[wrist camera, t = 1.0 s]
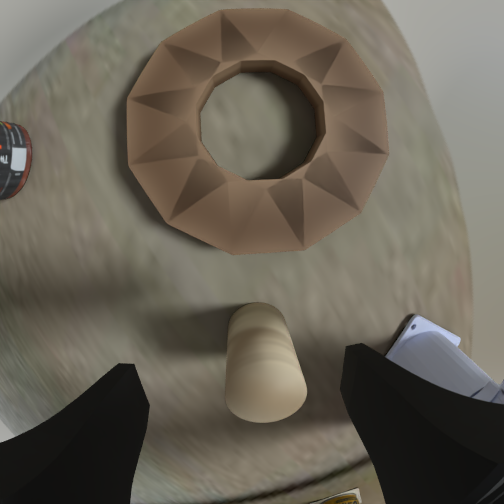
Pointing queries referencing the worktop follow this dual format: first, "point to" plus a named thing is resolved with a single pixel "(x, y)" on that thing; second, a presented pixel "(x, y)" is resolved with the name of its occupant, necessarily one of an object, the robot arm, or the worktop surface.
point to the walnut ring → (233, 186)
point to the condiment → (343, 498)
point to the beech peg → (262, 366)
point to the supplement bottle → (13, 158)
